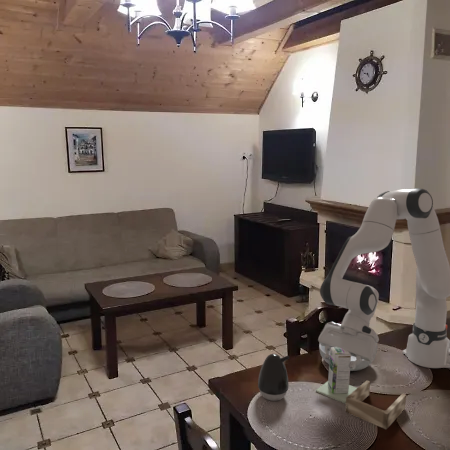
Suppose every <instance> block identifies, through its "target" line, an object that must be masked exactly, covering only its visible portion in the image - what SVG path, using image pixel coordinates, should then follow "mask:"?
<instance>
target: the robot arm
mask: <svg viewBox="0 0 450 450" xmlns="http://www.w3.org/2000/svg"><path fill="white" fill-rule="evenodd" d="M433 201H434V200H433V197H432V194H431V193H430V192H429V191H428V190H427V189H424V188H421V187H420V188H419V187H416V188H415V187H414V188H400V189H395V190H391V191H389V190H387V191H384V192H381V193H380V194H378V196H377V197H376V198H374V199H373V200H372V201H371V202H370V203H369V205H368V208H367V210H366V212H365V214H364V216H363V219H362V223H361V225H360V227H359V228H358V230H357V232H355V234H353V235H352V236H348V237H347V239H346V240H345V242H344V243H343V245H342V247H341V249H340V251H339V253H338V255H337V257H336V259H335V260H334V263H333V264H332V267H331V269H330V271H329V273H328V274H327V276H326V277H325V278H324V280H323V281H322V283H321V286H320V288H319V294H320V297H321V299H322V300H323V302H324V303H325V304H327V305H330V306H335V307H336V306H337V307H340V308H344V309H346V310H347V309H348V311H347V312H346V313H345V315H344V317H343V319H342V321H341V324H340V323H336V322H334V321H330V322H326V323H325V325H324V327H323V329H322V330H321V333H320V334H319V336H318V339H317V341H318V342H319V344H321V345H322V346H325V353H326V354H325V356H324V359H325V360H328V361H329V360H330V355H329V351H330V348H331V347H339V348H342V349H344V350H346V351H348V352H350V354H351V356H354V357H356V359H357V360H355V361H354V362H351V363H350V365H349V367H350V368H351V369H353V370H355V368H356V365H358V364H359V363H361V362H362V359H363V360H366V361H369V362H373V361H375V360H376V359H375V358H376V357H377V352H378V343H379V341H380V339H379V335H378V334H377V332H376V331H375V330H374V329H373V328H371V327H370V322H371V320H372V318H374V315H375V312H376V310H377V307H378V303H379V297H380V294H379V292H378V290H377V289H376V288H374V286H371V285H368V284H363V283H360V282H355V281H351V280H347V279H343V278H344V276H345V275H346V272H347V269H348V268H349V266H350V264H351V263H352V260H353V259H355V258H356V257H358V256H361V255H364V254H370V253H371V254H372V253H377V252H380V251H382V250H384V249H385V248H387V247H388V246H389V244H390V243H391V241H392V238H393V235H394V231H395V228H396V227H395V226H396V222H397V220H406V221H407V222H406V223H407V230H408V235H409V239H410V244H411V245H410V246H411V251H412V255H413V256H414V261H415V263H416V270H415V315H414V316H415V317H414V322H413V324H412V333H410V334H409V335H408V337H407V343H406V348H405V349H403V350H402V354H403V355H404V354H405V355H404V356H406V358H407V357H408V358H407V359H408V360H409V361H410V362H411V363H413V364H415V365H418V366H420V367H423V368H430V369H441V368H443V369H444V368H446V369H450V339H449V338H448V337H447V335H448V334H447V333H448V332H447V330H448V324H446V323H447V315H448V314H447V313H448V305H447V298H449V297H450V262H449V259H448V256H447V252H446V249H445V245H444V241H443V240H444V239H443V235H442V231H441V230H442V229H441V226H440V225H441V224H440V222H439V218H438V216H437V213H436V209H435V208H434V202H433ZM324 359H323V360H324ZM325 360H324V361H325Z"/></svg>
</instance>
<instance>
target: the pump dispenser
mask: <svg viewBox="0 0 450 450" xmlns="http://www.w3.org/2000/svg"><path fill="white" fill-rule="evenodd" d="M289 359H290V356H289V355H285V356H283V357H281V356H280V355H279V354H277V353H271V354H269V355H267V356H266V358H265V359H264V361H263V363H262V364H261V368H260V371H259V374H258V379H257V381H258V382H257V387H258V389H259V392H260V395H261V396H262V397H263V398H264V399H266V400H267V401H271V402H276V401H280V400H282V399H283V398H284V397H286V395H287V391H288V390H289V377H288V376H289V375H288V372H287V368H286V365H285V363H284V362H286V361H288V360H289Z"/></svg>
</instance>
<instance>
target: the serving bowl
mask: <svg viewBox="0 0 450 450" xmlns="http://www.w3.org/2000/svg"><path fill="white" fill-rule="evenodd" d="M318 345H319V346H318V349H319V353H320V356H321V358H322V359H323V360H324V361H325V363H326V364H328V365H329V362H330V360H329V361H328V360H325V359H324V356H325V354H326V353H325V346H322V345H321V344H320V343H319V344H318ZM329 355H330V351H329ZM355 360H357V359H356V357H354V356H351V362H354V361H355ZM372 362H373V361H372ZM372 362H369V361H366V360H363V359H362V362H361V363H359V364H358V365H356V368H355V370H353V369H351V368H350V372H353V371H354V372H355V371H361V370H363V369H366V368H368V367H369V366H370V365H371V364H372Z"/></svg>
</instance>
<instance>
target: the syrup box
mask: <svg viewBox="0 0 450 450" xmlns="http://www.w3.org/2000/svg"><path fill="white" fill-rule="evenodd" d="M350 363H351V354H350V352H348V351H346V350H344V349H342V348H339V347H331V348H330V362H329V364H328V365H329V366H328V380H327V381H328V387H329V388H330V390H331V392H332V394H342V393H348V391H349V385H350V377H351V375H350V373H351V371H350V367H349V365H350Z"/></svg>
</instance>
